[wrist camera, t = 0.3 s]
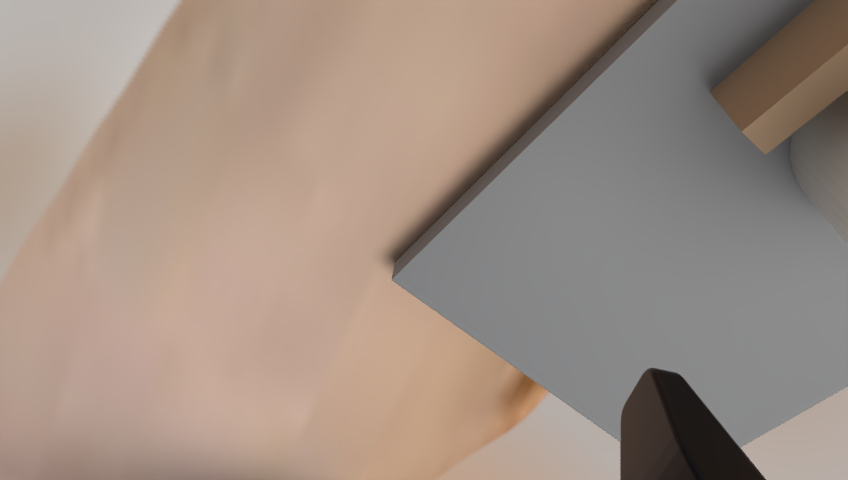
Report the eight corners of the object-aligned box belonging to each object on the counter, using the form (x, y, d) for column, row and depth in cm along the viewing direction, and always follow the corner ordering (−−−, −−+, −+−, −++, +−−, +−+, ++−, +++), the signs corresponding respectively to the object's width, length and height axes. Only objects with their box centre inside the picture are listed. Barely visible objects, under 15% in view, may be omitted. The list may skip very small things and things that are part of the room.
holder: (671, 460, 30) (695, 545, 27) (395, 261, 26) (380, 332, 22) (1339, 66, 19) (1529, 121, 16) (1063, -403, 15) (1244, -473, 11)
